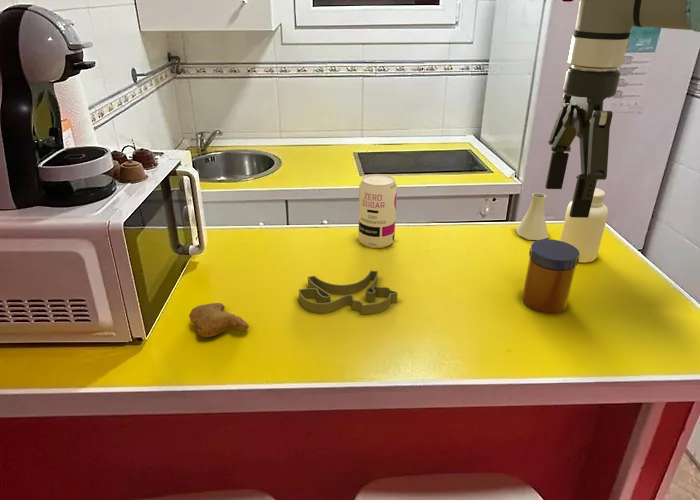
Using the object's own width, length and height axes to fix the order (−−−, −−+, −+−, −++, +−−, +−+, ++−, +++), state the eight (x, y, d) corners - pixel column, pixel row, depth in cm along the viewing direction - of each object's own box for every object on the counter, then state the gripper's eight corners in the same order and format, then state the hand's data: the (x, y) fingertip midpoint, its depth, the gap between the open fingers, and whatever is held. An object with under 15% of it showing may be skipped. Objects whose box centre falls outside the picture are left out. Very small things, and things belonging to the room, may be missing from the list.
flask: (510, 229, 126) (517, 190, 121) (537, 226, 127) (545, 188, 122) (525, 242, 119) (532, 202, 115) (554, 239, 121) (562, 199, 116)
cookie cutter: (386, 277, 105) (386, 269, 104) (401, 311, 94) (401, 301, 93) (297, 285, 102) (296, 276, 101) (302, 320, 92) (302, 311, 91)
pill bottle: (550, 254, 114) (564, 190, 107) (568, 243, 119) (582, 181, 112) (586, 267, 109) (602, 201, 102) (602, 255, 114) (619, 191, 107)
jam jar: (572, 314, 94) (585, 263, 89) (528, 313, 94) (538, 262, 89) (558, 290, 101) (569, 242, 96) (516, 289, 101) (525, 241, 96)
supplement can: (389, 232, 124) (391, 172, 117) (397, 248, 116) (401, 185, 109) (355, 234, 122) (356, 174, 115) (362, 250, 115) (363, 187, 108)
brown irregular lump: (249, 337, 87) (248, 319, 86) (188, 344, 85) (185, 326, 84) (248, 305, 96) (246, 288, 94) (192, 310, 94) (189, 293, 92)
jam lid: (584, 270, 89) (587, 261, 89) (536, 269, 90) (538, 260, 89) (568, 248, 97) (570, 239, 96) (523, 247, 97) (525, 238, 96)
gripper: (659, 82, 67) (618, 232, 77) (588, 57, 89) (563, 177, 99) (601, 81, 67) (567, 231, 78) (544, 56, 89) (523, 177, 99)
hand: (565, 201), depth 88 cm, fingers open, 12 cm apart
